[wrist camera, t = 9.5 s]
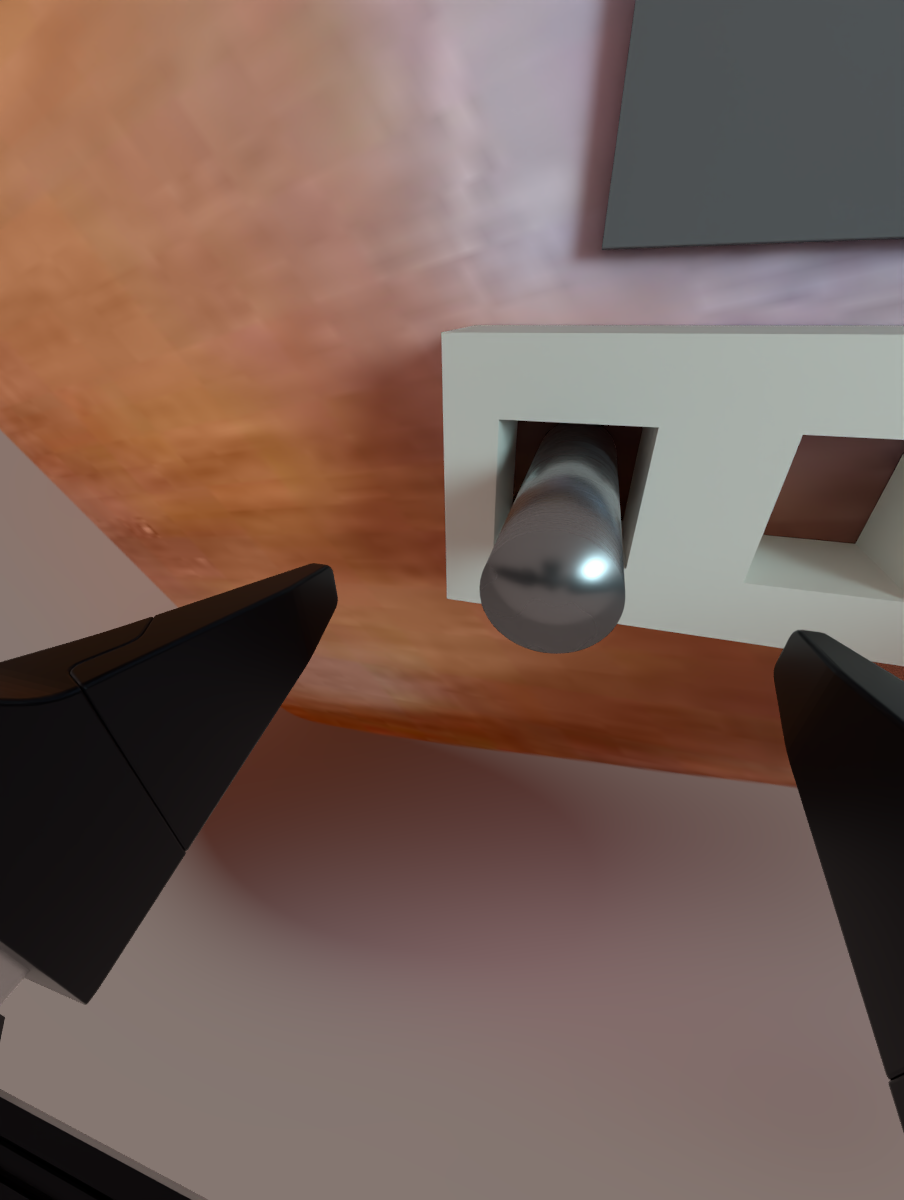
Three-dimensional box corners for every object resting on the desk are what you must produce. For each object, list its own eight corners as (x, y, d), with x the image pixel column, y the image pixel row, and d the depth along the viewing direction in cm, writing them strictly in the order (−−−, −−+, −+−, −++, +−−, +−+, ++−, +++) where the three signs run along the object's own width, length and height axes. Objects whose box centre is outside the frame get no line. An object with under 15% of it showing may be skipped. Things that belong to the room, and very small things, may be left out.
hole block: (1050, 325, 12) (1207, 335, 9) (880, 602, 17) (943, 672, 14) (474, 325, 16) (441, 332, 13) (471, 552, 21) (446, 598, 18)
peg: (624, 421, 16) (640, 540, 8) (609, 500, 18) (610, 663, 10) (540, 417, 17) (481, 523, 9) (533, 494, 19) (477, 641, 11)
